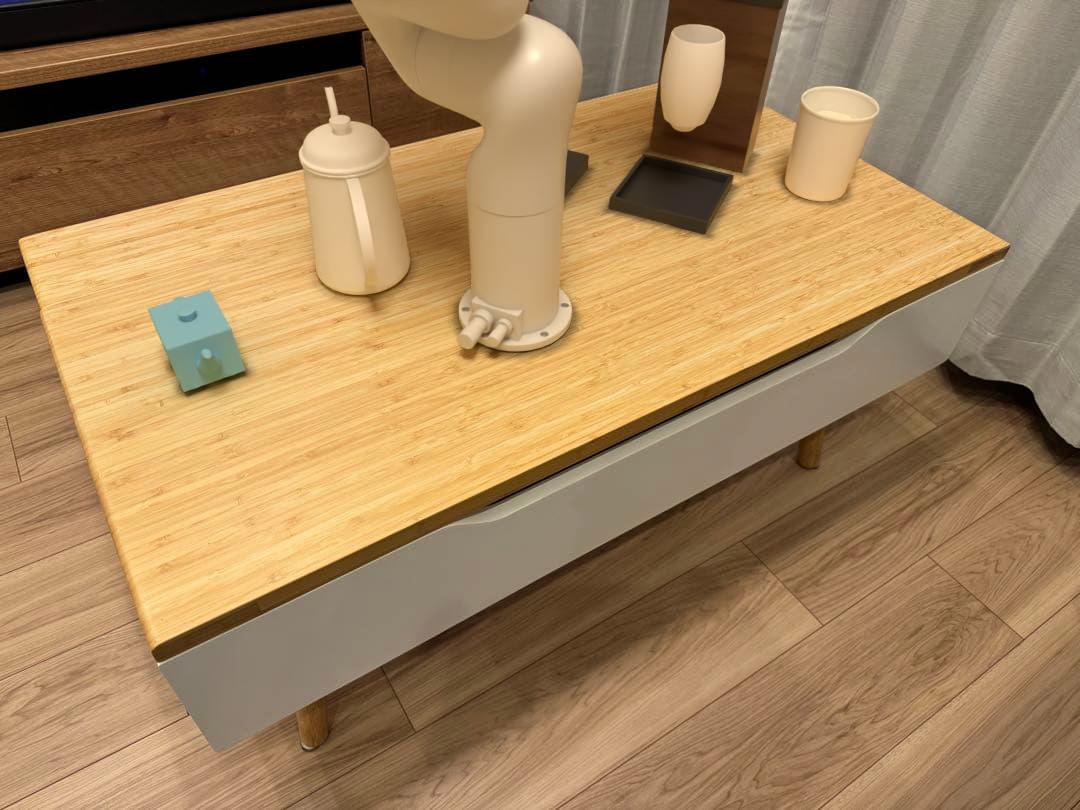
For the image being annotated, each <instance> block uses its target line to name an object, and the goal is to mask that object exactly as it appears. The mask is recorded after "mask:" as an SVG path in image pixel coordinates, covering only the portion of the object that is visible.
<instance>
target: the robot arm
mask: <svg viewBox="0 0 1080 810" xmlns="http://www.w3.org/2000/svg"><path fill="white" fill-rule="evenodd" d="M350 1H351V3H352V4H353V7H354V8H355V10H356V11H357V13H358V14H359V16H360V17H361V19H362V21H363V22H364V24H365V25H366V27H367V28H368V30H369V32H370V33H371V35H372V36H373V38H374V39H375V41H376V43H377V44H378V46H379V47H380V49H381V50H382V52H383V53H384V55H385V57H386V58H387V60H388V61H389V62H390V64H391V66H392V68H393V69H394V71H395V72H396V73H397V75H398V76H399V78H400V79H401V80H402V81H403V82H404V84H405V85H406V86H407V87H408V88H409V89H410V90H411V91H412V92H414V93H415V94H416V95H418V96H420V97H421V98H423V99H426V100H428V101H429V102H432V103H433V104H436V105H438V106H441V107H443V108H445V109H448V110H450V111H452V112H455V113H458V114H460V115H463V116H465V117H467V118H468V119H470V120H473V121H475V122H477V123H479V124H480V126H481V127H482V129H483V136H482V139H481V140H480V141H479V143H478V145H476V147H475V148H474V149H473V151H472V152H471V154H470V156H469V159H468V162H467V166H466V174H465V184H466V199H467V219H468V221H467V222H468V241H469V260H470V262H469V263H470V281H471V282H470V283H471V287H469V288H468V289H467V290H466V291H465V293H464V294H463V295H462V297H461V298H460V300H459V302H458V308H457V309H458V319H459V323H460V326H461V328H462V330H461V331H460V333H459V334H458V335H457V336H456V341H457V343H458V345H459V346H460V347H462V348H464V349H466V350H472V349H473V348H474V346H475V345H476V344H477V343H479V344H481V345H483V346H485V347H488V348H491V349H495V350H497V351H504V352H526V351H533V350H537V349H541V348H544V347H545V346H546V347H547V346H548V345H551V344H552V343H554V342H556V341H557V340H559V339H561V338H562V337H563V336H564V334H566V332H567V331H568V329H569V328H570V326H571V323H572V319H573V305H572V302H571V299H570V297H569V296H568V295H567V293H566V292H565V291H564V290H563V289H562V288H561V285H560V283H561V267H562V266H561V264H562V248H563V247H562V246H563V228H564V227H563V225H564V210H565V197H564V190H565V173H566V160H567V151H568V150H569V142H570V137H571V132H572V127H573V123H574V119H575V114H576V110H577V106H578V102H579V99H580V95H581V90H582V85H583V78H584V74H583V73H584V67H583V61H582V56H581V54H580V53H581V52H580V51H579V49H578V47H577V46H576V44H575V43H574V41H573V39H572V38H571V37H570V36H569V35H568V34H567V33H566V32H564V31H563V29H561V28H559V27H558V26H556V25H554V24H552V23H550V22H549V21H547V20H544V19H542V18H539V17H537V16H534V15H530V14H528V13H526V12H527V10H528V6H529V2H530V0H350Z"/></svg>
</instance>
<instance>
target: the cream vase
mask: <svg viewBox="0 0 1080 810" xmlns="http://www.w3.org/2000/svg"><path fill="white" fill-rule="evenodd" d="M724 59H725V35H724V33H723V32H721V31H720V30H718V29H716V28H713V27H710V26H705V25H697V24H688V25H681V26H678V27H676V28H674V29H673V31H672V32H671V35H670V39H669V42H668V46H667V49H666V52H665V56H664V62H663V68H662V74H661V103H662V109H663V115H664V119H665V120H666V121H667V122H669V123H670V124H671V125H672V127H673V128H674V129H676V130H678V131H682V132H688V131H692V130H693V129H695V128H696V127H697V126H700V125H702V124H704V123H705V121H706V119H707V117H708V115H709V113H710V111H711V109H712V107H713V105H714V103H715V100H716V97H717V94H718V92H719V89H720V86H721V80H722V74H723V67H724Z"/></svg>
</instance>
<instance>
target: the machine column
mask: <svg viewBox="0 0 1080 810" xmlns="http://www.w3.org/2000/svg"><path fill="white" fill-rule="evenodd" d="M789 1H790V0H668V6H667V14H666V15H667V16H666V19H665V20H666V21H665V28H664V36H663V44H662V52H661V58H660V66H659V71H658V73H659V74H658V81H657V88H656V96H655V102H654V110H653V118H652V125H651V131H650V132H651V133H650V141H649V148H648V151H649V152H653V153H657V154H661V155H665V156H669V157H672V158H673V157H674V158H678V159H681V160H686V161H691V162H695V163H699V164H703V165H707V166H711V167H716V168H719V169H723V170H724V169H725V170H729V171H732V172H737V173H740V174H742V173H744V171H745V169H746V167H747V165H748V163H749V161H750V160H751V158H752V156H753V153H754V148H755V145H756V140H757V136H758V133H759V128H760V124H761V120H762V117H763V116H762V115H763V111H764V106H765V103H766V98H767V94H768V90H769V85H770V81H771V77H772V74H773V73H772V72H773V68H774V64H775V60H776V56H777V52H778V48H779V44H780V39H781V35H782V32H783V27H784V22H785V18H786V14H787V9H788V5H789ZM688 24H697V25H705V26H710V27H713V28H716V29H718V30H720V31H721V32H723V33H724V35H725V59H724V67H723V74H722V80H721V86H720V89H719V92H718V94H717V97H716V100H715V103H714V105H713V107H712V109H711V111H710V113H709V115H708V117H707V119H706V121H705V123H704V124H702V125H700V126H697V127H696V128H695V129H693V130H692V131H688V132H682V131H678V130H676V129H674V128H673V127H672V125H671V124H670V123H669V122H667V121H666V120H665V119H664V115H663V109H662V103H661V74H662V68H663V62H664V56H665V52H666V49H667V46H668V42H669V39H670V35H671V32H672V31H673V29H674V28H676V27H678V26H681V25H688Z"/></svg>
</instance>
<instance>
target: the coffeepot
mask: <svg viewBox="0 0 1080 810" xmlns="http://www.w3.org/2000/svg"><path fill="white" fill-rule="evenodd" d="M324 92H325V95H326V100H327V105H328V109H329V110H328V111H329V115H330V117H329V119H328V122H327V123H325V124H321V125H319V126H317V127H315V128H314V129H313V130H311V131H310V132H308V133H307V135H306V136H305V138H304V139H303V143H302V146H301V147H300V148H299V150H298V158H299V162H300V164H301V166H302V170H303V180H304V187H305V194H306V203H307V210H308V211H307V212H308V220H309V225H310V234H311V242H312V250H313V258H314V265H315V272H316V274H317V276H318V278H319V279H320V281H321V282H322V283H323V284H324V285H325V286H327V287H328V288H330V289H331V290H333V291H336V292H338V293H342V294H345V295H353V296H364V295H365V296H366V295H372V294H376V293H380V292H383V291H386V290H388V289H390V288H393V287H394V286H396V285H397V284H398V283H400V282H401V281H402V280H403V278H404V277H406V275H407V273H408V271H409V269H410V265H411V257H410V252H409V247H408V242H407V237H406V232H405V226H404V223H403V216H402V213H401V207H400V203H399V198H398V193H397V188H396V184H395V178H394V173H393V167H392V164H391V158H390V157H391V146H390V144H389V142H388V141H387V139H385V138H384V137H383V135H381V132H379V130H377V129H376V128H375V127H373V126H372V125H369V124H367V123H364V122H360V121H353V120H351V117H349V116H348V115H345V114H339V110H338V105H337V101H336V97H335V93H334V89H333V86H328V87H325V86H324Z"/></svg>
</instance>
